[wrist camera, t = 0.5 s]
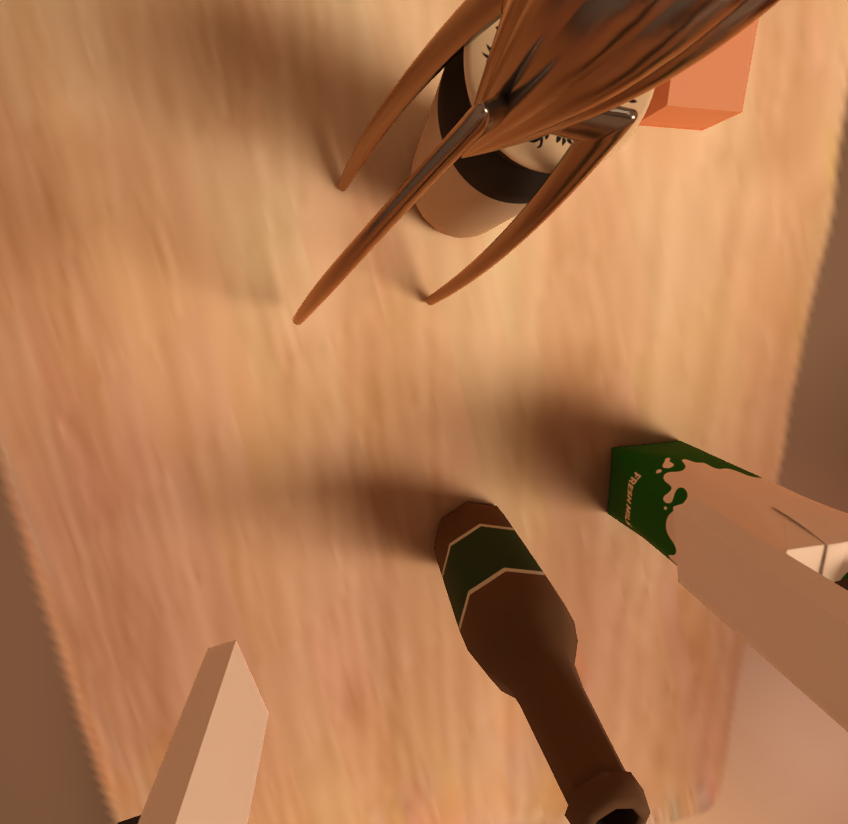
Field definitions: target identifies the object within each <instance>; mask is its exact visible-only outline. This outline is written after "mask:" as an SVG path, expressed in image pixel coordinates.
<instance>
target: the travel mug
mask: <svg viewBox="0 0 848 824" xmlns="http://www.w3.org/2000/svg"><path fill="white" fill-rule="evenodd" d="M500 19H501V18H500ZM500 19H499V20H498V21H496V22H495V23H494V24H493V25H491V26H490V27H489V28H488V29H487V30H485V31H484V32H483V33H482V34H481V35H479V36H478V37H477V38H476V39H475V40H474V41H472V42H471V43H470V44H468V45H466V46H465V47H464V49H463V50H462V51H461V52H460V53H459V54H458V55H457V56H456V57H455V58H454V59H452V60H451V61H450V62H449V63H448V64H447V65H446V66H445V68H444V71H443V74H442V77H441V80H440V83H439V86H438V89H437V92H436V95H435V98H434V100H433V103H432V106H431V109H430V112H429V115H428V118H427V121H426V124H425V127H424V130H423V133H422V135H421V138H420V141H419V144H418V147H417V150H416V153H415V156H414V159H413V162H412V167H411V175H412V174H413V173H414V172H415V170H416V169H417V168H418V167H419V166H420V165H421V164H422V163H423V161H424V160H425V159H426V158H427V157H428V156H429V155H430V154H431V152H432V151H433V150H434V149H435V148H436V147H437V146H438V144H439V143H440V142H441V141H442V140H443V139H444V138H445V137H446V135H447V134H448V133H449V132H450V131H451V130H452V129H453V127H454V126H455V125H456V124H457V123H458V122H459V121H460V119H461V118H462V117H463V116H464V115H465V114H466V112H467V111H468V110H469V109H470V108H471V107H472V106H474V102H475V98H476V95H477V91H478V88H479V85H480V81H481V78H482V75H483V72H484V68H485V65H486V62H487V59H488V55H489V52H490V49H491V46H492V43H493V40H494V37H495V34H496V31H497V27H498V25H499V22H500ZM654 89H655V88H654ZM654 89H652V90H650V91H648V92H646V93H644V94H643V95H641V96H639V97H637V98H635V99H633V100H631V101H629V102H627V103H625V104H623V105H620V106H623V107H628V108H632V109H635V110H636V111H637V112H638V117H637V119H636V121H635V122H634V124H633V125H632V126H631V127H630V129H629V130H628V131H627V132H626V133H625V135H624V136H623V137H622V138H621V139H620V140H619V142H618V143H617V144H616V145H615V146H614V147H613V148H612V150H611V151H610V152H609V153H608V154H607V155H606V156H605V158H604V159H603V160H605V159H607V158H608V157H610V156H611V155H612V154H613V153H615V152H616V151H617V150H618V149H619V148H620V147H621V146H622V145H623V144H624V143H625V142H626V141H627V140H628V139H629V138H630V136H631V135H632V134H633V132H634V131H635V130H636V128H637V127H638V125H639V123H640V122H641V120H642V118H643V117H644V115H645V113H646V111H647V108H648V106H649V104H650V101H651V99H652V96H653V92H654ZM572 142H573V140H570V139H567V138H563V137H559V136H555V135H551V134H549V135H546V136H543V137H540V138H537V139H534V140H531V141H528V142H525V143H522V144H518V145H515V146H511V147H508V148H504V149H500V150H496V151H492V152H489V153H484V154H480V155H475V156H471V157H466V158H461V157H462V156H461V157H460V158H459V159H458V160H457V161H456V162H455V163H454V164H453V165H452V166H451V167H450V168H449V169H448V170H447V171H446V172H445V173H444V174H443V175H442V176H441V177H440V178H439V179H438V180H437V181H436V182H435V183H434V184H433V185H432V186H431V187H430V188H429V189H428V190H427V191H426V192H425V193H424V194H423V195H422V196H421V197H420V198H419V199H418V200H417V201H416V203H415V204H416V206H417V208H418V210H419V212H420V213H421V215H422V216H423V218H424V219H425V220H426V221H427V222H428V223H429V224H430V225H431V226H432V227H433V228H435V229H436V230H438V231H440V232H441V233H444V234H446V235H449V236H452V237H458V238H468V237H474V236H478V235H480V234H483V233H485V232H487V231H489V230H490V229H492V228H494V227H496V226H498V225H500V224H501V223H503V222H505V221H507V220H509V219H511V218H512V217H514V216H516V215H518V214H519V213H520V212H521V211H522V209H523V208H524V207H525V206H526V205H527V203H528V202H529V201H530V200H531V198H532V197H533V196H534V195H535V193H536V192H537V191H538V189H539V188H540V187H541V186H542V184H543V183H544V182H545V180H546V179H547V178H548V176H549V175H550V174H551V172H552V171H553V169H554V168H555V167H556V165H557V164H558V162H559V161H560V159H561V158H562V157H563V155H564V154H565V152H566V151H567V149H568V148H569V146H570V145H571V143H572ZM603 160H602V161H603ZM602 161H601V162H602Z"/></svg>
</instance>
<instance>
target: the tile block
mask: <svg viewBox="0 0 848 824" xmlns="http://www.w3.org/2000/svg"><path fill="white" fill-rule="evenodd" d="M758 19H759V18H758ZM758 19H757V20H755V21H754V22H753V23H752V24H750V25H749V26H748V27H746V28H745V29H744V30H743V31H741V32H740V33H739V34H737V35H736V36H735V37H733V38H732V39H731V40H729V41H728V42H726V43H725V44H724V45H722V46H721V47H719V48H718V49H717V50H715V51H714V52H712V53H711V54H709V55H708V56H706V57H705V58H703V59H702V60H700V61H699V62H697V63H696V64H694V65H693V66H691V67H689V68H688V69H686V70H685V71H683V72H681V73H680V74H678V75H677V76H675V77H673V78H672V79H670V80H668V81H666V82H665V83H663V84H661V85H659V86H658V87H656V88H655V89H654V92H653V96H652V99H651V101H650V104H649V106H648V108H647V111H646V113H645V115H644V117H643V118H642V120H641V122H640V123H639V125H640V126H653V127H665V128H678V129H690V130H704V129H707V128H709V127H711V126H713V125H715V124H717V123H720V122H722V121H724V120H726V119H728V118H730V117H733V116H735V115H737V114H739V113H741V112H742V110H743V104H744V98H745V93H746V87H747V82H748V76H749V70H750V65H751V59H752V53H753V48H754V42H755V36H756V31H757V25H758Z"/></svg>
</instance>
